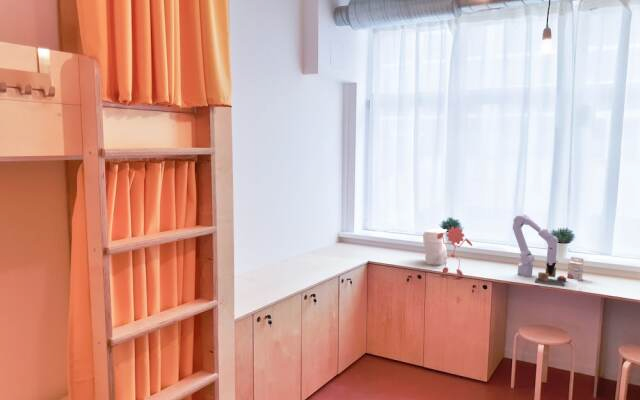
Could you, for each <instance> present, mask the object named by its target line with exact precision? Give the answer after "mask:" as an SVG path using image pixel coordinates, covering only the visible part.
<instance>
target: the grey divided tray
mask: <svg viewBox="0 0 640 400" xmlns="http://www.w3.org/2000/svg"><path fill="white" fill-rule="evenodd" d="M534 283H535V284H541V285H549V286H556V287H565V286H566V282H562V281H557V280H552V279H548V282H544V281H538V277H536V278H535V280H534Z"/></svg>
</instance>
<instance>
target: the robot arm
mask: <svg viewBox="0 0 640 400" xmlns="http://www.w3.org/2000/svg"><path fill="white" fill-rule="evenodd" d="M525 225H526V226H529V227H531V228H532V229H533V230H535V231H536V232H537V233H538V234H537V235H539V236H540V237H541V238H542V239H543V240H544V241H545V242H546V243H547V252H546V260H545V261H546V263H545V265H546V266H547V268H548V273H549V274H552V273H553V269H554V267H555V266H556V264H557V263H558V262H559V260H557V253H558V243H559V238H558V236H556V235H554V234H552V233H550V232H549V231H548V230H549V229H545V228H541V227H540V226H539V225H538V224H537V223H536V222H535V221H534V220H533V219H532V218H530V216H528V215H526V214H524V213H522V214H519V215H516V216H515V217H514V219H513V225H512V231H513V234H514V236H515V238H516V242H517V245H518V248H519V249H520V250H519V252H520V262H521V263H518V265H517V266H518V267H517V276H523V277H533V269H534V267H533V265H534V263H533V262H534V261H535V256H534V255H533V254H532V252H531V251H530V250H529V247H528V245H527V242H526V239H525V235H524V233H523V231H522V230H523V229H522V228H523V226H525Z"/></svg>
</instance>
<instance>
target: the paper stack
mask: <svg viewBox="0 0 640 400" xmlns="http://www.w3.org/2000/svg"><path fill="white" fill-rule="evenodd" d="M447 231H448V229H443V228H429V229H426V230H425V231H424V232H423V235H422V238H423V240H422V241H423V245H424V249H425V257H424V258H425V263H426V265H429V266H442V265H445V264H447V262H448V261H447V259H448V258H447V257H448V252H447V251H448V250H447V247H446V244H444V243H445V242H444V243H443V237H442V238H440V239H438V238H437V236H438V234H440V233H443V236H444V235H445V233H446V232H447ZM445 258H446V259H445Z"/></svg>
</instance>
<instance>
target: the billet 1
mask: <svg viewBox="0 0 640 400" xmlns="http://www.w3.org/2000/svg"><path fill="white" fill-rule="evenodd" d="M537 274H538V275H537V278H538V281H544V282H548V280H549V273H546V272H540V271H539V272H538V273H537Z"/></svg>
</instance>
